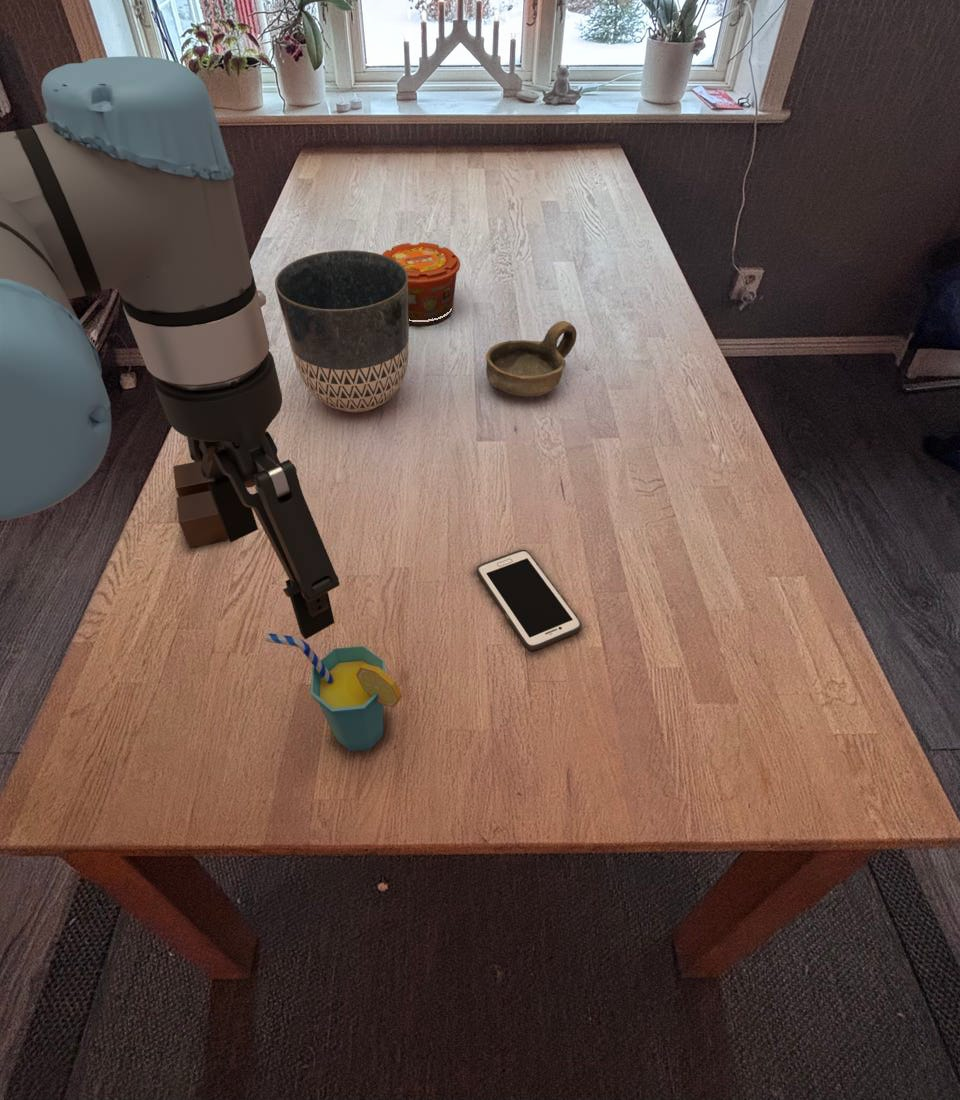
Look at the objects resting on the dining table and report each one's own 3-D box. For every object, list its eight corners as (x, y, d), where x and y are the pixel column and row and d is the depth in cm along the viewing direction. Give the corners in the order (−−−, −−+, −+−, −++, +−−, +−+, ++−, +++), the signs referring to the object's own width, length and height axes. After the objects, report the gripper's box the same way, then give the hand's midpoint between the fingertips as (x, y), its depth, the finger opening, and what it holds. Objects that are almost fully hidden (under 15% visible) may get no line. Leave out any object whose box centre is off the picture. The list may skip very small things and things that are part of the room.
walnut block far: (186, 514, 96) (175, 488, 92) (183, 492, 99) (173, 465, 95) (222, 506, 97) (213, 480, 94) (219, 484, 100) (209, 458, 97)
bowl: (468, 379, 121) (469, 328, 113) (547, 353, 127) (552, 303, 120) (512, 419, 113) (515, 366, 106) (593, 388, 120) (602, 337, 112)
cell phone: (525, 552, 92) (525, 547, 91) (583, 630, 83) (584, 626, 83) (474, 570, 90) (474, 565, 89) (529, 653, 81) (529, 649, 80)
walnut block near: (190, 548, 92) (178, 522, 88) (187, 524, 95) (176, 497, 91) (228, 539, 93) (218, 513, 89) (224, 515, 96) (214, 489, 92)
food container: (412, 339, 130) (409, 285, 122) (366, 307, 138) (360, 254, 130) (476, 314, 137) (477, 261, 129) (428, 285, 145) (426, 233, 137)
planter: (403, 440, 109) (393, 315, 93) (285, 429, 110) (255, 304, 94) (424, 373, 122) (418, 254, 106) (318, 365, 123) (297, 245, 107)
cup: (277, 742, 73) (245, 664, 62) (309, 682, 78) (284, 600, 67) (400, 777, 70) (389, 702, 59) (424, 713, 75) (418, 633, 64)
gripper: (368, 433, 38) (395, 650, 54) (188, 272, 51) (252, 484, 67) (244, 488, 35) (311, 702, 50) (86, 301, 48) (178, 517, 63)
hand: (278, 578), depth 58 cm, fingers open, 13 cm apart
